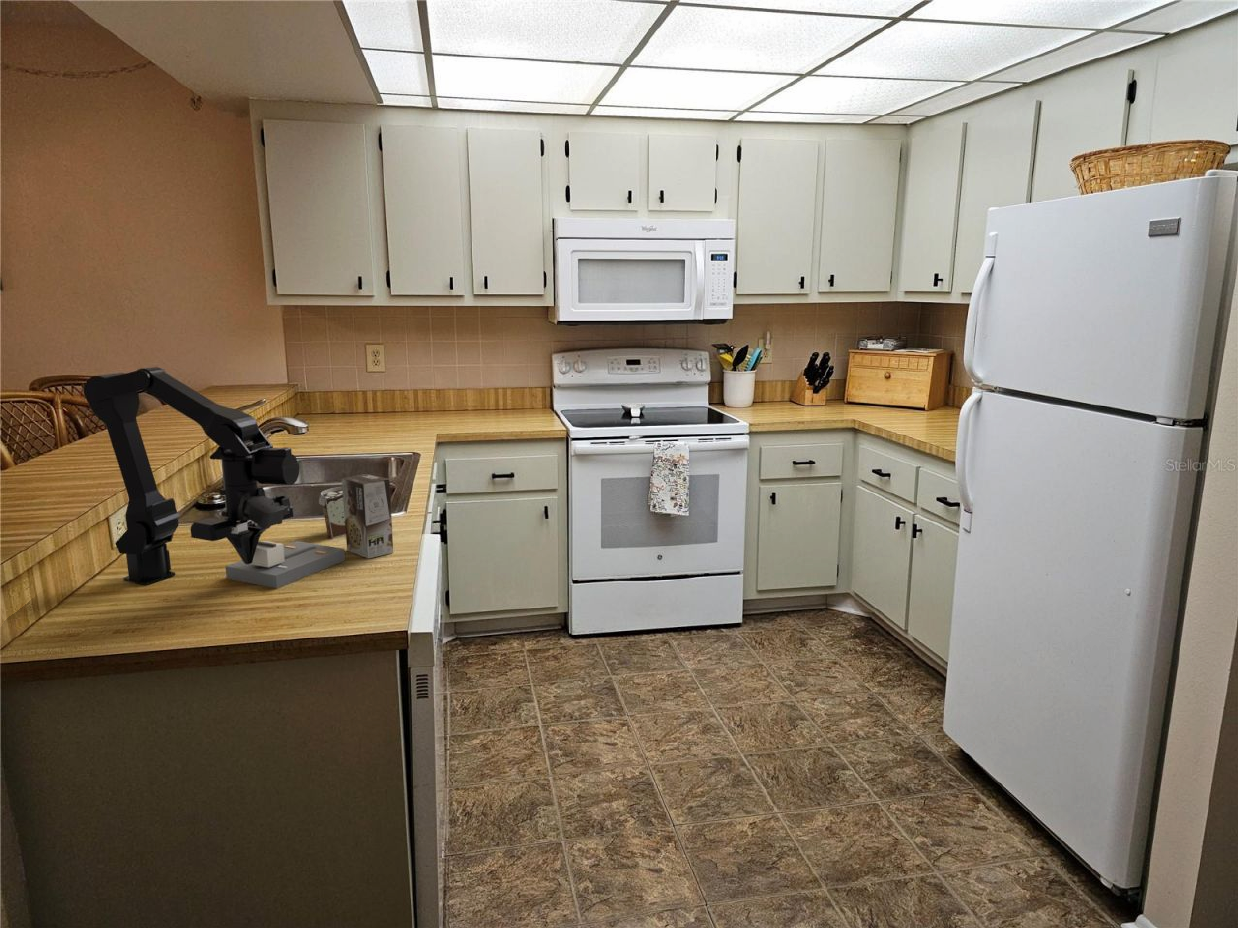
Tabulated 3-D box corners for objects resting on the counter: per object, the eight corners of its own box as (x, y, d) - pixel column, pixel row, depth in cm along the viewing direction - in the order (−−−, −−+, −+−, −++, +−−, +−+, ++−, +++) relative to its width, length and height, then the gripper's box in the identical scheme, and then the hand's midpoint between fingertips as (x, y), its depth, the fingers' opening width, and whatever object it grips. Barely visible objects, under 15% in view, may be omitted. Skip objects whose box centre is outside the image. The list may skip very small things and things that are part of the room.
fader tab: (268, 567, 154) (266, 547, 153) (249, 563, 156) (247, 543, 155) (284, 561, 157) (283, 541, 156) (265, 557, 159) (263, 538, 158)
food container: (355, 523, 194) (353, 483, 192) (371, 528, 191) (369, 486, 189) (310, 535, 184) (306, 493, 182) (326, 540, 181) (323, 496, 179)
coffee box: (394, 552, 172) (391, 478, 169) (367, 559, 168) (363, 483, 165) (372, 543, 179) (368, 472, 175) (345, 550, 174) (340, 477, 171)
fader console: (277, 588, 151) (276, 574, 150) (226, 578, 156) (225, 565, 155) (345, 560, 167) (344, 547, 167) (297, 552, 172) (296, 540, 172)
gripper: (230, 498, 138) (238, 585, 141) (312, 477, 154) (317, 555, 157) (184, 492, 142) (193, 576, 145) (268, 471, 159) (275, 547, 162)
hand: (248, 563), depth 152 cm, fingers closed
